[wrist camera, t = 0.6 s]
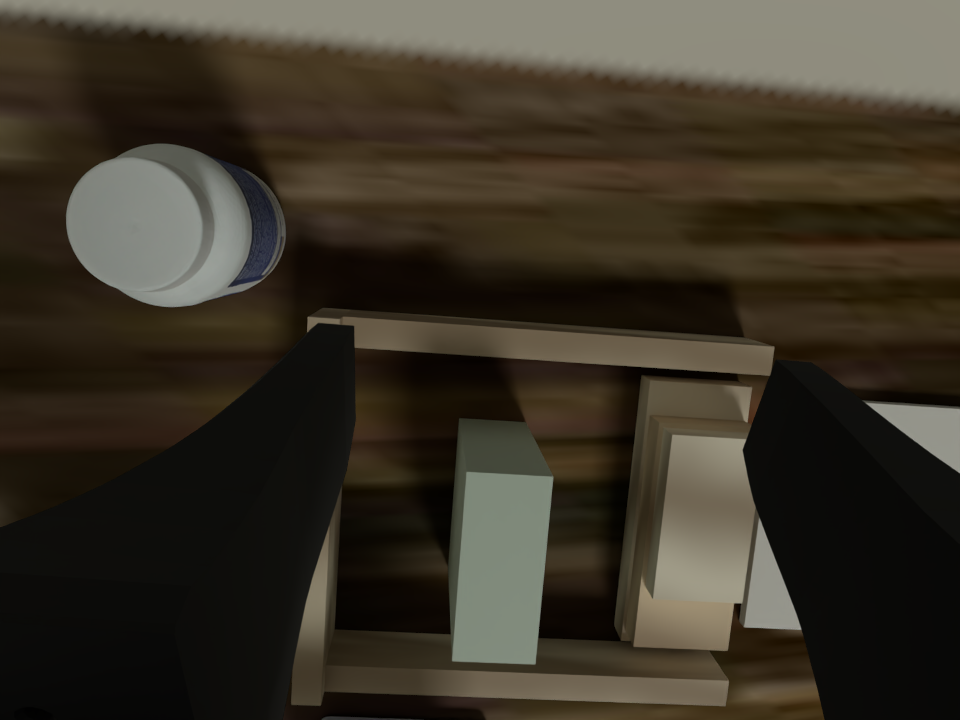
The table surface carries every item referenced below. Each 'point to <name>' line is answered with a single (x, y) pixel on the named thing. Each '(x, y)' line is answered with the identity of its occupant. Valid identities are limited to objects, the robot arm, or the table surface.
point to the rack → (646, 544)
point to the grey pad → (766, 599)
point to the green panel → (497, 542)
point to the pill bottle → (175, 225)
